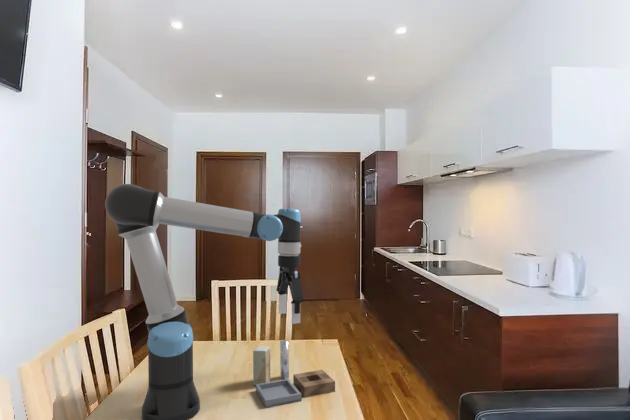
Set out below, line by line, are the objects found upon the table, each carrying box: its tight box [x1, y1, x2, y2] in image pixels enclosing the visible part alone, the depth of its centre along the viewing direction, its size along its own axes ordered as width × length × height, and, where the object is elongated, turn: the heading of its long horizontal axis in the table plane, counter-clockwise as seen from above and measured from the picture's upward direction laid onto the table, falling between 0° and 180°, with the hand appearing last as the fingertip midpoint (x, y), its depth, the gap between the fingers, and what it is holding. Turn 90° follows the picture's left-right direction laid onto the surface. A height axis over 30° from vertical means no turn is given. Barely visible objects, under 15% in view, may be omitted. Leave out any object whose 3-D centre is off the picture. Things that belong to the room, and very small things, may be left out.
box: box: [252, 345, 271, 386], centre depth 132 cm, size 5×4×11 cm
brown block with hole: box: [292, 369, 336, 398], centre depth 128 cm, size 10×10×3 cm
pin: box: [279, 339, 290, 380], centre depth 136 cm, size 3×3×12 cm
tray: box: [255, 378, 302, 408], centre depth 122 cm, size 11×12×2 cm
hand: (289, 318), depth 137 cm, fingers open, 13 cm apart
